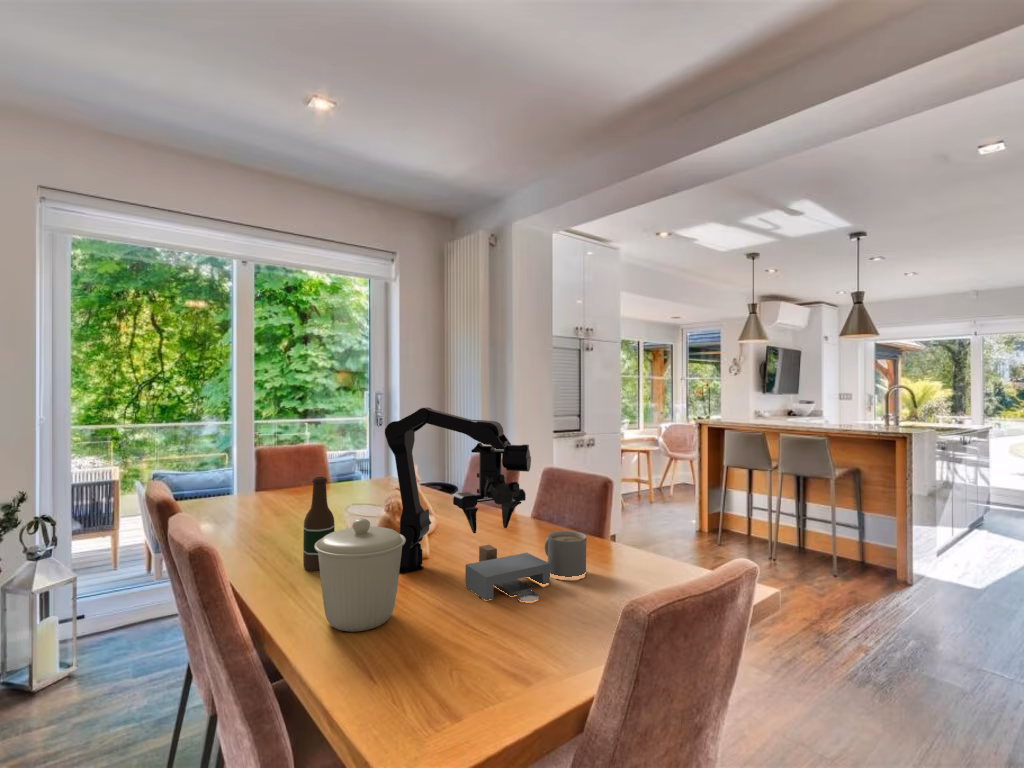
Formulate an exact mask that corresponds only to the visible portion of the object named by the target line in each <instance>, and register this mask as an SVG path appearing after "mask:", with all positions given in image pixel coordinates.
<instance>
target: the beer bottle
mask: <svg viewBox="0 0 1024 768" xmlns="http://www.w3.org/2000/svg"><path fill="white" fill-rule="evenodd" d="M311 482H312V483H313V484H312V485H313V486H312V496H311V505H310V509H309V510H308V512H306V515H305V518H304V520H303V550H302V551H303V553H302V554H303V556H302V557H303V559H302V561H303V569H305V570H306V571H307V570H308V571H307V572H314V571H319V572H320V567H319V556H318V552H317V551H316V550H315V543H316V542H317V541H318V540H320V539H322V538H323V537H324V536H326V535H327V534H330V533H332V532H335V528H336V527H335V526H336V525H335V517H334V514H333V512H332V511H331V510H330V508H329V506H328V496H327V493H328V492H327V482H328V479H327V477H325V476H316V477H313V478H312V481H311Z"/></svg>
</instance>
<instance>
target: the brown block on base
mask: <svg viewBox="0 0 1024 768" xmlns="http://www.w3.org/2000/svg"><path fill="white" fill-rule="evenodd" d="M478 550H479V551H478V562H481V561H486V560H491V559H496V558H498V557H497V556H498V548H497V547H494V546H493V545H491V544H485V545H479V546H478ZM494 586H496V587H497V588H499V589H500V590H502V591H504V592H505V593H507V594H508V595H510V596H514V595H517V594H518V593H519V592H523V591H531V590H532V591H533V587H532V586H530V585H528V584H527V583H525V582H524V581H521V580H520V579H515V580H511V581H506V582H502V583H497V584H494Z"/></svg>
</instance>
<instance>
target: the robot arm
mask: <svg viewBox="0 0 1024 768" xmlns="http://www.w3.org/2000/svg"><path fill="white" fill-rule="evenodd" d="M427 424H429V425H431V426H435V427H439V428H443V429H447V430H450V431H453V432H458V433H461V434H464V435H466V436H468V437H469V438H471V439H473V440H474V441H477V444H476V445H475V446H474V447H473V448H472V449H471V453H473V454H474V453H478V454H479V455H478V459H479V461H478V462H479V463H478V466H479V467H478V468H479V471H478V472H477V473H476V477H477V478H478V482H479V483H478V485H479V486H478V488H476V494H473V493H470V492H459V493H455V494H454V496H453V498H452V503H453V505H454V506H455V507H457V508H459V509H461V510H462V511H463V514H464V515H465V517H466V520H467V522H468V524H469V527H470V529H471V532H472V533H473V534H477V512H478V511H479V508H478V507H476V506H477V505H478V503H484V502H489V501H493V502H494V504H496V505H501V516H502V526H503V529H508V526H509V523H510V520H511V517H512V516H513V512H514V510H515V509H516V507H518V505H521V504H522V501H523V502H524V501H526V499H527V498H526V491H525V489H523V488H520V483H518V482H517V481H512V482H506V481H505V474H504V473H503V474H502V467H503V468H504V469H505V470H506V471H507V472H527V473H529V472H530V470H531V465H532V464H531V463H532V456H531V452H530V445H529V444H511V442H510V441H509V439H508V438H507V436H506V435H505V434H504V428H503V426H502V424H501V423H500V422H499V421H495V420H487V419H486V420H485V419H471V418H470V419H469V418H466V417H464V416H459V415H455V414H451V413H447V412H444V411H441V410H435V409H433V408H431V407H427V406H426V407H420V408H418V409H417V410H416V411H415V412H413V413H411V414H410V415H407V416H405V417H404V418H401V419H400V420H394V421H391V422H389V423H388V424H387V425H386V427H385V428H384V436H385V440H386V442H387V444H388V447H389V449H390V450H391V452H392V454H393V455H394V459H395V466H396V474H397V479H398V486H399V493H400V499H401V506H402V510H401V514H400V519H399V520H400V521H399V532H398V533H399V534H401V535H403V536H404V537H405V539H406V541H405V544H404V545H403V546H402V553H401V562H400V570H399V574H402V573H409V572H413V571H420V570H423V569H424V566H423V549H422V544H421V543H420V542H422V541H423V538H424V537H425V536H426V535H427V534H428V532H429V531H430V525H432V521H431V519H430V510H429V508H428V509H424V508H423V507H422V505H421V501H420V496H419V488H418V483H417V475H416V469H415V462H414V457H413V450H414V445H415V441H416V440H415V432H418V431H419V430H421V429H422V428H423V427H424V426H426V425H427Z"/></svg>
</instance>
